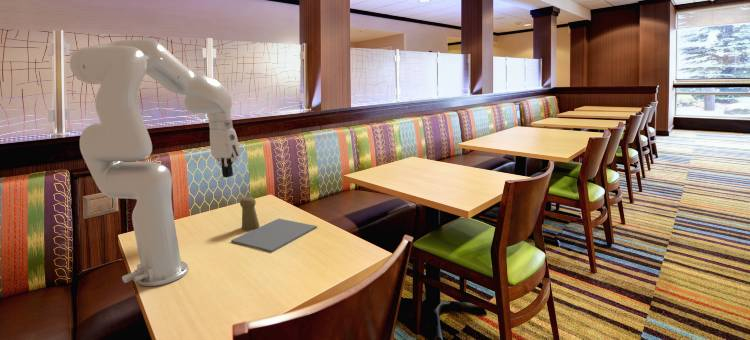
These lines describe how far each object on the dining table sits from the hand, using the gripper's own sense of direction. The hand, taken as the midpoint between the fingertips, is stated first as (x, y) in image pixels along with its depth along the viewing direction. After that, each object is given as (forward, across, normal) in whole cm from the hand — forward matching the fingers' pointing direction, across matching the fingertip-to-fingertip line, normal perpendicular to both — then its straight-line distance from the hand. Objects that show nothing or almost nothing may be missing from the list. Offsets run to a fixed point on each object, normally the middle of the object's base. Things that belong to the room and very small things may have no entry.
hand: (228, 176), depth 143 cm
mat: (+18, -22, +2) cm, 28 cm away
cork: (+18, -9, +1) cm, 20 cm away
